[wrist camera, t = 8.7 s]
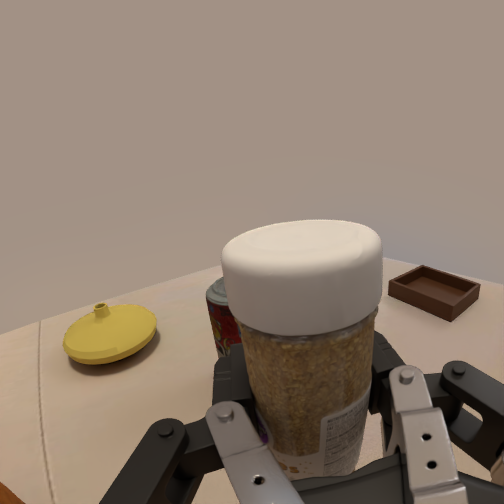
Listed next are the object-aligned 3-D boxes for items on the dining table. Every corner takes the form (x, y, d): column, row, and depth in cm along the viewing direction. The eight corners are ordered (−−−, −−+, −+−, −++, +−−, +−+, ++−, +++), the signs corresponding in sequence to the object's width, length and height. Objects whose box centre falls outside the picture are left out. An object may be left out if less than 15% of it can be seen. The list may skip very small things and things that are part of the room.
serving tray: (478, 298, 41) (480, 284, 40) (450, 322, 37) (453, 306, 36) (421, 277, 52) (422, 264, 51) (387, 294, 48) (388, 280, 48)
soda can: (213, 375, 35) (192, 282, 31) (260, 352, 39) (249, 263, 35) (245, 407, 29) (227, 304, 26) (297, 377, 33) (290, 279, 29)
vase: (132, 384, 34) (114, 337, 32) (52, 367, 37) (34, 327, 35) (176, 323, 49) (166, 283, 47) (102, 320, 52) (91, 285, 50)
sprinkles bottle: (252, 481, 13) (193, 241, 9) (317, 442, 15) (306, 210, 12) (304, 535, 9) (286, 278, 6) (372, 483, 12) (413, 225, 8)
